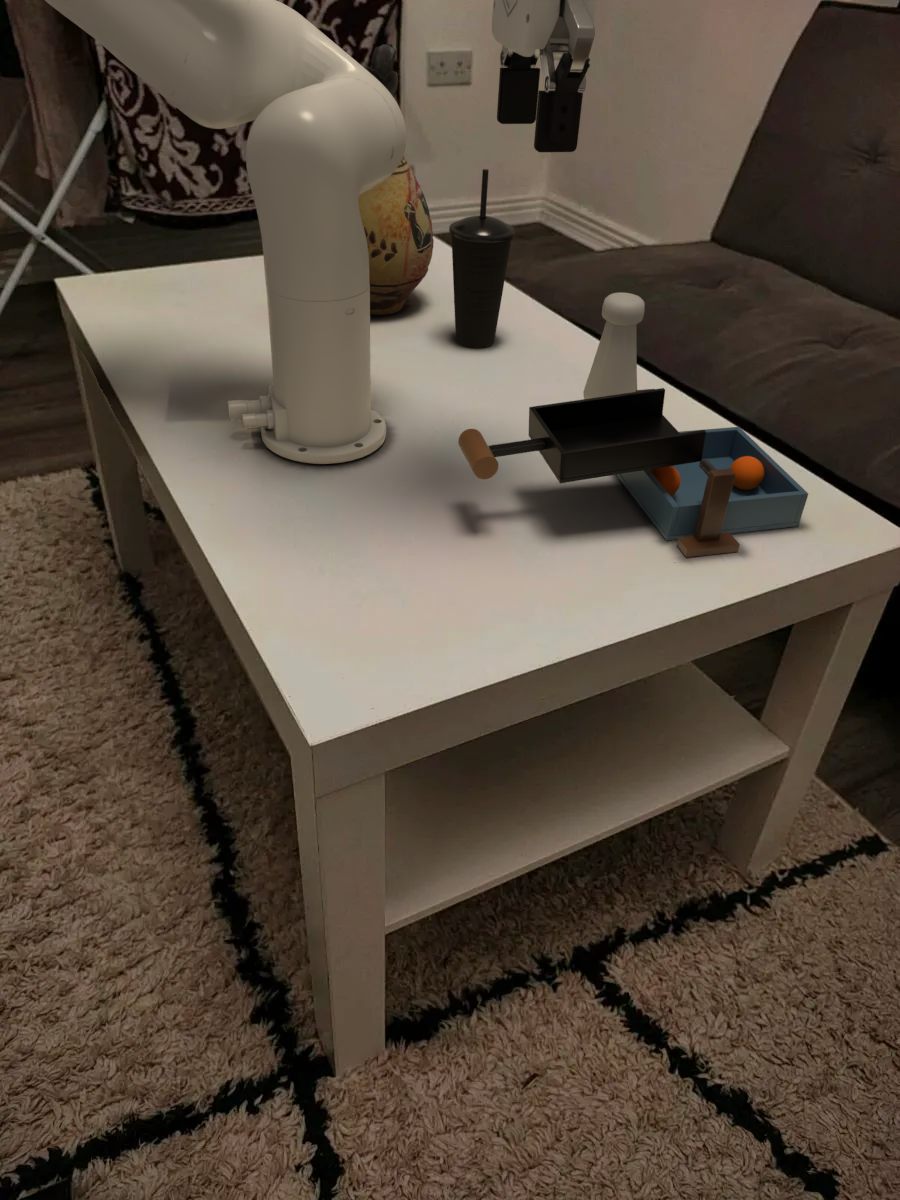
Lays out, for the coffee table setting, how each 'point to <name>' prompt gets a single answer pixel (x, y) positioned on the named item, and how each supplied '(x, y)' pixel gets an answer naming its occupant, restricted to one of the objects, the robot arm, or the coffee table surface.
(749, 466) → the ball
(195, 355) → the coffee table surface
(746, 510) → the tray
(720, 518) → the stand
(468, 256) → the drinking cup
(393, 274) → the ceramic jug
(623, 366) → the salt shaker
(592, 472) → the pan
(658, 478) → the ball
